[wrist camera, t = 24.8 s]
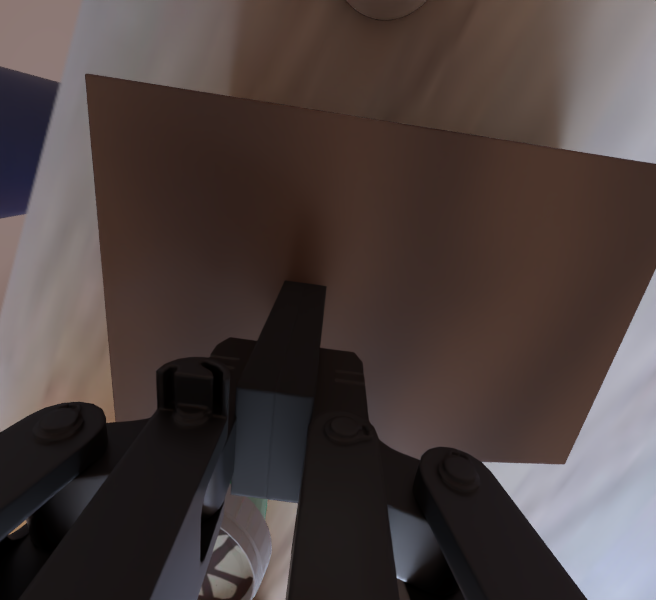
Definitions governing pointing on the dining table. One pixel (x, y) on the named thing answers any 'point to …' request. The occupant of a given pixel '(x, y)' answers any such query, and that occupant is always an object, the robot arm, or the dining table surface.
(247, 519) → the food container
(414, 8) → the bottle
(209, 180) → the lid
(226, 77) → the dining table surface
